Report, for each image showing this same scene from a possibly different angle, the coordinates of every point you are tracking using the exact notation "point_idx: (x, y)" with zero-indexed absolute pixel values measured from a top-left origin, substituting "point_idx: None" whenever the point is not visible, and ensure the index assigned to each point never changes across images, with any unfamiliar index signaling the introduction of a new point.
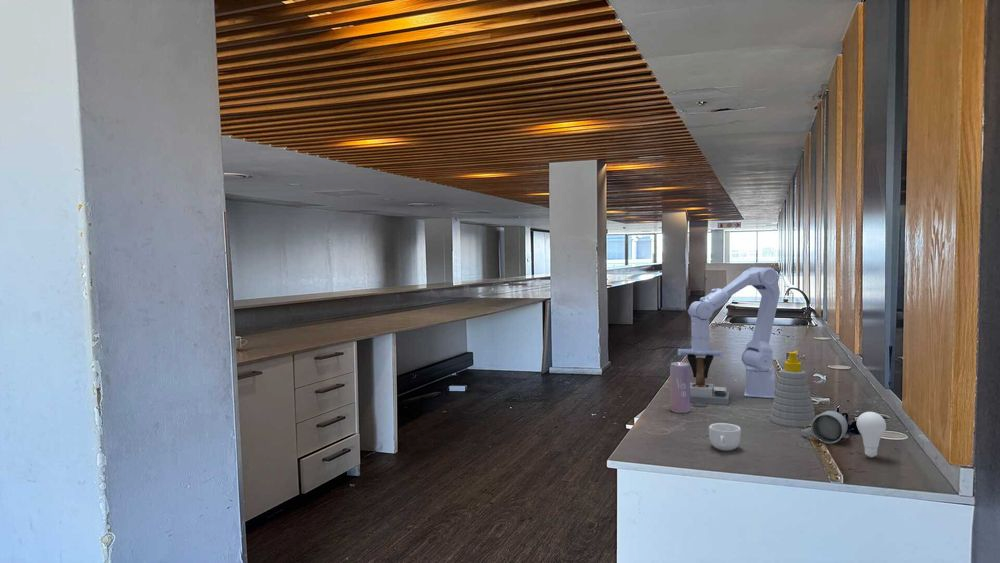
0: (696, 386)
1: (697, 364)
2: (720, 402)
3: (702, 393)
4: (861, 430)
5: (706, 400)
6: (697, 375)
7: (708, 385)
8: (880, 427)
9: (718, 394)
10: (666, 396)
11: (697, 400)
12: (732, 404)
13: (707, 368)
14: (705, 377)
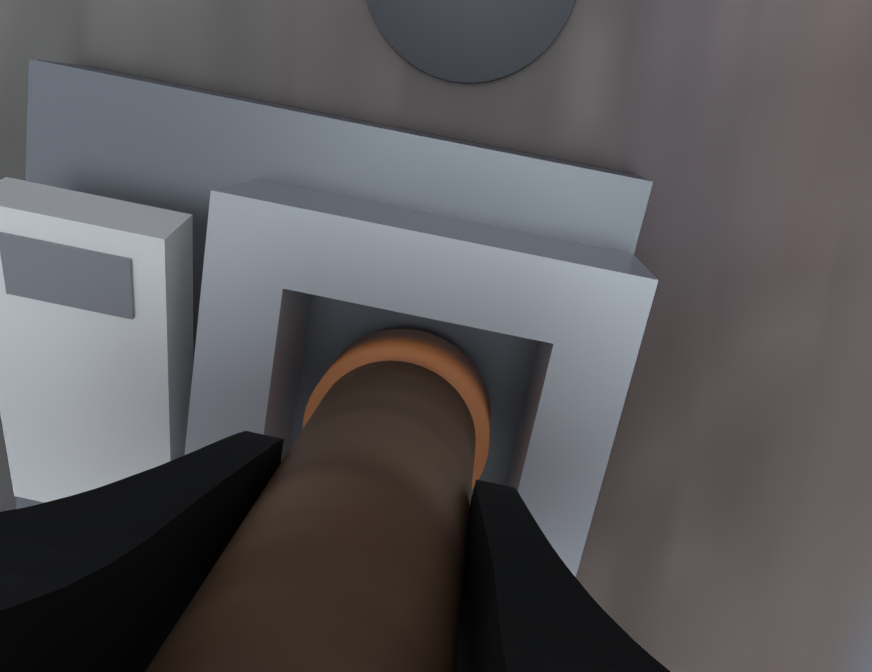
0: (468, 395)
1: (397, 647)
2: (165, 82)
3: (392, 211)
4: None
5: (354, 121)
6: (434, 467)
7: None
8: None
9: None
10: (865, 483)
11: (483, 145)
12: (26, 118)
13: (117, 492)
14: (265, 437)
